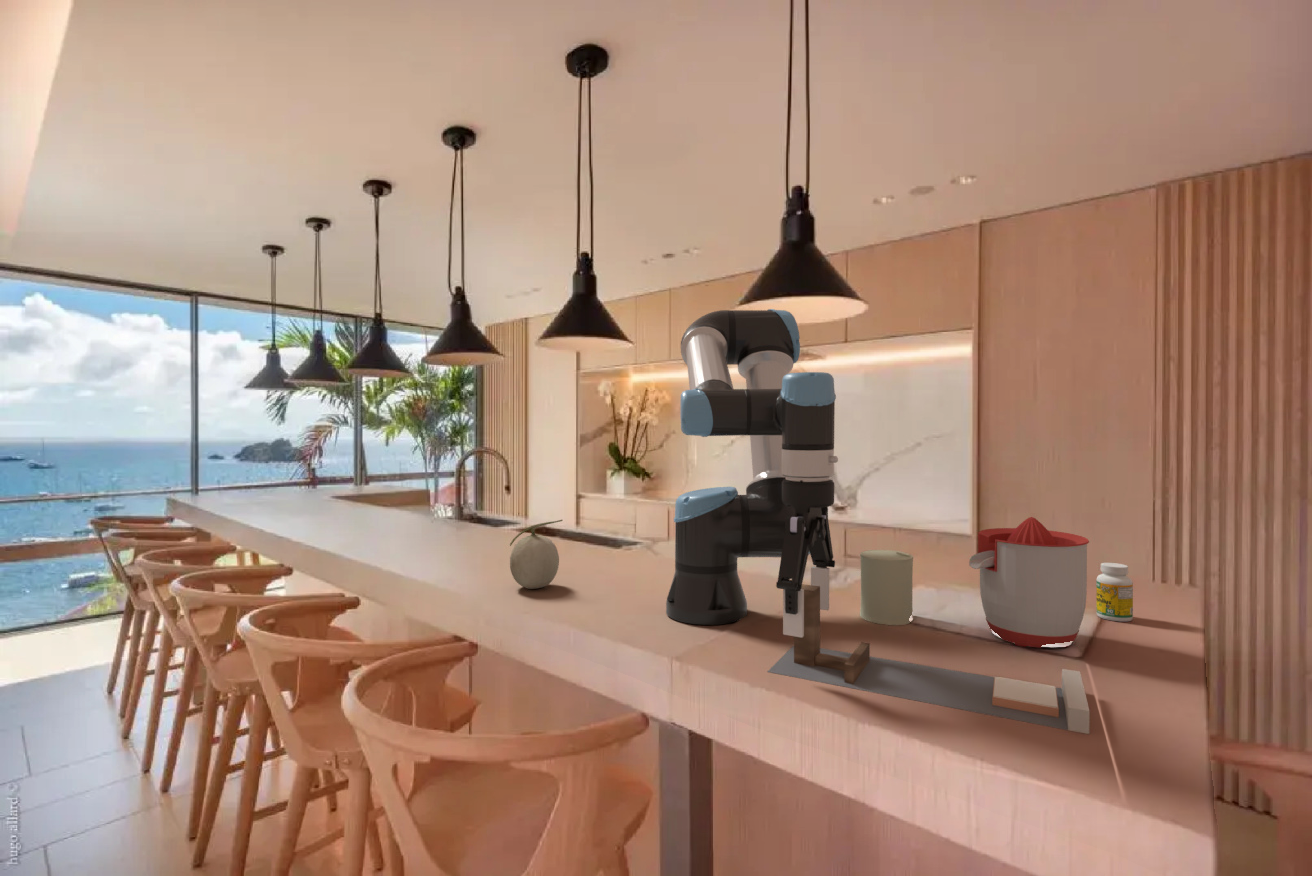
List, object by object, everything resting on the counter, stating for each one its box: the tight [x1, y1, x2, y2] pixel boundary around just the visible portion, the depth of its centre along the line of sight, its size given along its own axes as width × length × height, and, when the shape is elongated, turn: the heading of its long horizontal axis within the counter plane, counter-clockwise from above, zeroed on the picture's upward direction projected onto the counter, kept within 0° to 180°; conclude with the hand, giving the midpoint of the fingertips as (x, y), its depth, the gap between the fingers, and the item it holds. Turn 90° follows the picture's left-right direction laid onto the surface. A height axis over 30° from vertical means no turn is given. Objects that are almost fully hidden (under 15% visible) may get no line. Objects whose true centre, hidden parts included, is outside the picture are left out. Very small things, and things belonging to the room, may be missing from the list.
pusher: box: [793, 583, 871, 684], centre depth 93 cm, size 9×10×11 cm
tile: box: [992, 675, 1059, 717], centre depth 81 cm, size 7×7×1 cm
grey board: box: [767, 644, 1090, 735], centre depth 87 cm, size 38×13×3 cm, turn 60°
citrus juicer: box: [968, 516, 1090, 649], centre depth 105 cm, size 16×17×20 cm
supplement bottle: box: [1095, 562, 1134, 623], centre depth 116 cm, size 5×5×10 cm
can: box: [859, 549, 914, 626], centre depth 117 cm, size 9×9×12 cm
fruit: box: [509, 519, 563, 590], centre depth 140 cm, size 10×12×15 cm
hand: (807, 621), depth 95 cm, fingers open, 13 cm apart
